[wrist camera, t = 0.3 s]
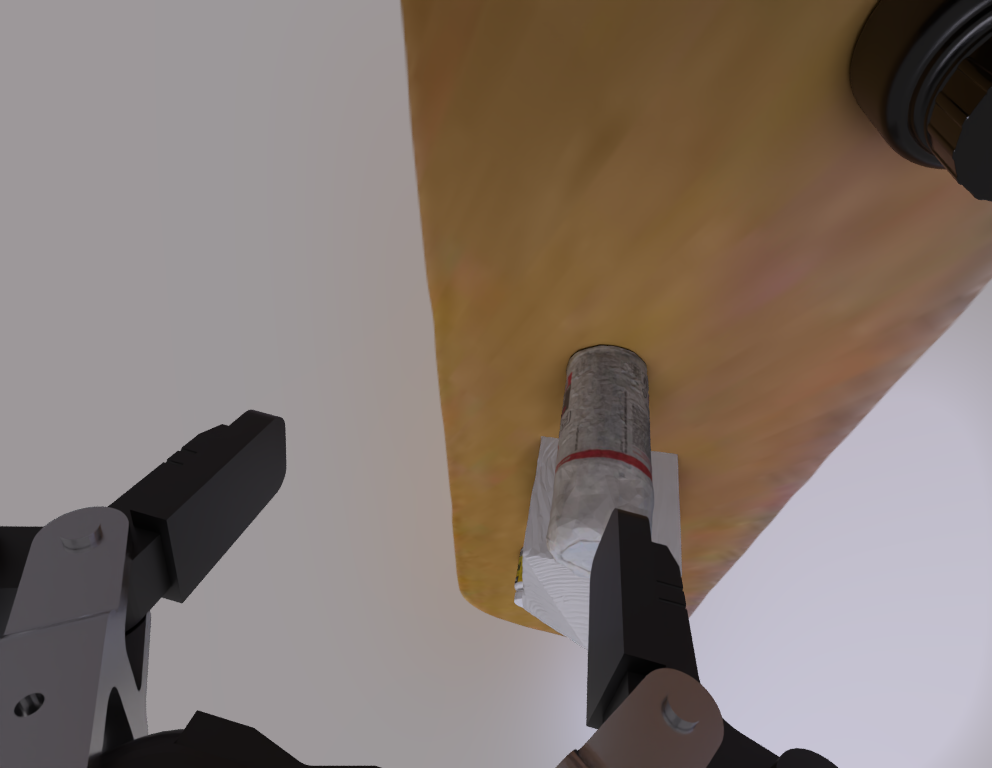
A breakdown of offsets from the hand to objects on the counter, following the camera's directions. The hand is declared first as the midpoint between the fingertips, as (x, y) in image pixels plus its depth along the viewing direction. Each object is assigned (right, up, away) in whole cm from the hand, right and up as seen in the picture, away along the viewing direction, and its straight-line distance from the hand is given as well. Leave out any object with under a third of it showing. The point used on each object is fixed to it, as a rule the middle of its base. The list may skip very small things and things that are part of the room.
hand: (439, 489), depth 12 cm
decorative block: (+15, -10, +53) cm, 55 cm away
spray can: (+12, +4, +38) cm, 41 cm away
